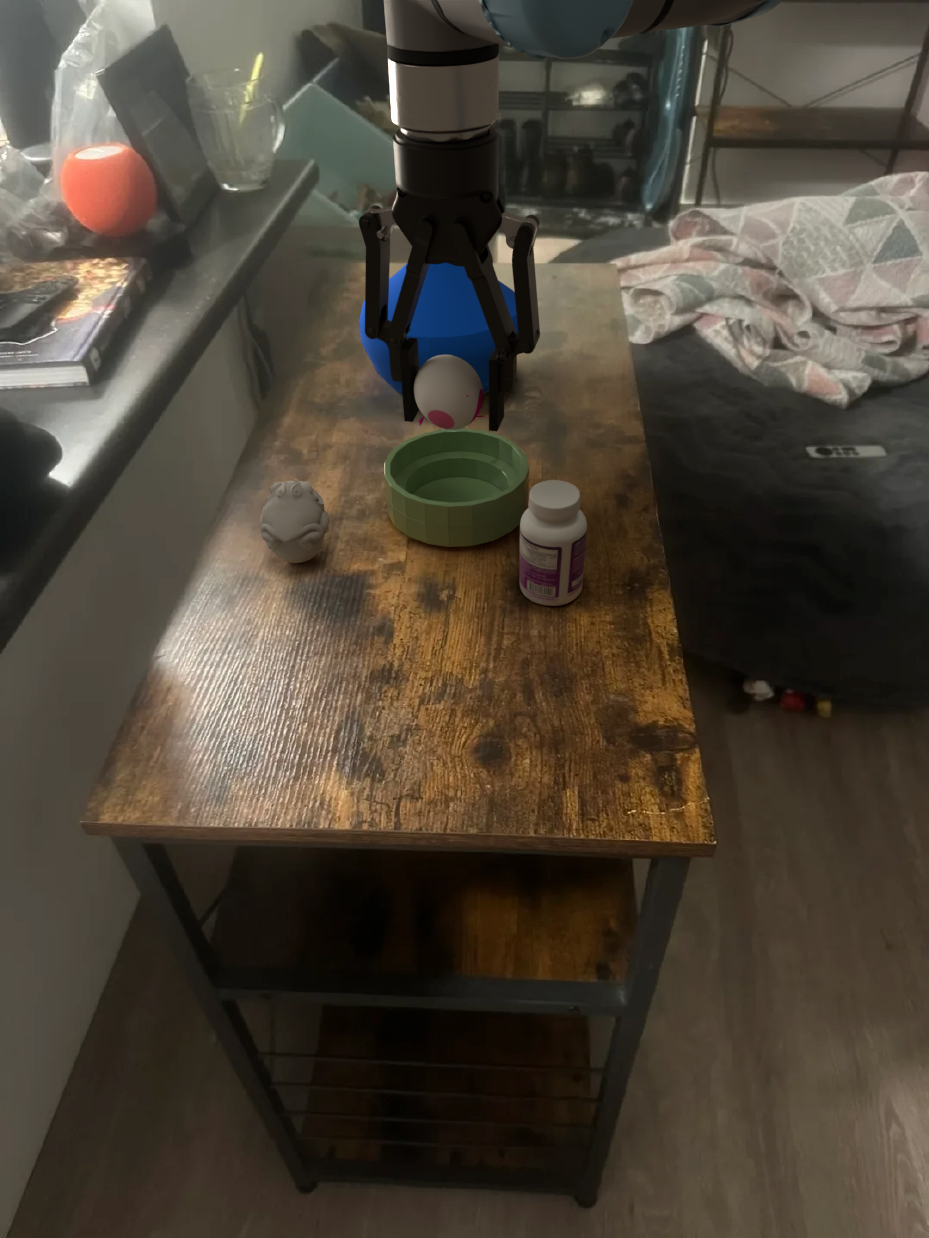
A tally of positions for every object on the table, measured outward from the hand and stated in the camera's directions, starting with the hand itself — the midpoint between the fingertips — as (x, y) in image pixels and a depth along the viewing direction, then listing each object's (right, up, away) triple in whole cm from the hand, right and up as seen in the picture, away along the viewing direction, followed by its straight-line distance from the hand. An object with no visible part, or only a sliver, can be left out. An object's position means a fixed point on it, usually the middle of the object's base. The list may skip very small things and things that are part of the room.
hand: (454, 418), depth 77 cm
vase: (-1, +9, +25) cm, 27 cm away
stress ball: (0, 0, 0) cm, 0 cm away
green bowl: (0, -7, +6) cm, 10 cm away
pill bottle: (+8, -15, -2) cm, 17 cm away
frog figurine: (-14, -12, +2) cm, 19 cm away
